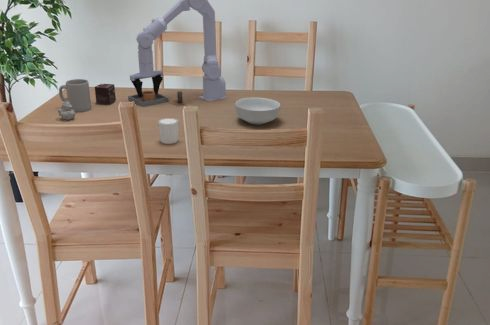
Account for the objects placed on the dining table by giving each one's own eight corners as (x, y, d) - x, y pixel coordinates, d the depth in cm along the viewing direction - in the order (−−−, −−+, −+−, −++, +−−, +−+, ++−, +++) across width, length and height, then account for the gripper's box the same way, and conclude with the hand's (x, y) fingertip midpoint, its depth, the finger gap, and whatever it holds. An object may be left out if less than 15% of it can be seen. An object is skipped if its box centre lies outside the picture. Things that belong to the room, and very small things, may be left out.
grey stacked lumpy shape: (71, 122, 174) (68, 101, 171) (55, 120, 175) (51, 99, 172) (78, 117, 179) (76, 97, 176) (62, 116, 180) (60, 95, 177)
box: (109, 105, 194) (107, 87, 191) (96, 104, 195) (94, 86, 192) (116, 101, 199) (114, 84, 196) (103, 100, 200) (101, 83, 197)
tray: (153, 96, 207) (152, 91, 206) (168, 102, 199) (168, 97, 198) (128, 101, 199) (128, 96, 198) (143, 108, 191) (143, 102, 190)
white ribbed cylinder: (159, 137, 163) (158, 117, 160) (179, 137, 163) (179, 117, 160) (157, 144, 156) (156, 124, 153) (179, 144, 157) (178, 124, 154)
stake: (182, 99, 203) (182, 88, 201) (193, 104, 198) (193, 92, 196) (166, 103, 198) (166, 91, 196) (177, 107, 193) (177, 95, 191)
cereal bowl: (265, 132, 169) (265, 113, 167) (226, 123, 177) (226, 104, 174) (287, 119, 183) (288, 101, 180) (250, 111, 191) (250, 94, 188)
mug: (94, 106, 192) (91, 79, 188) (86, 112, 185) (83, 85, 180) (66, 104, 193) (62, 78, 189) (56, 111, 186) (52, 83, 181)
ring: (157, 101, 199) (157, 93, 197) (146, 103, 195) (145, 95, 194) (147, 96, 204) (147, 88, 202) (136, 99, 200) (135, 91, 199)
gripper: (156, 58, 199) (157, 90, 205) (124, 63, 190) (127, 96, 196) (165, 61, 195) (166, 93, 200) (134, 66, 186) (136, 99, 191)
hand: (148, 95), depth 198 cm, fingers open, 7 cm apart
